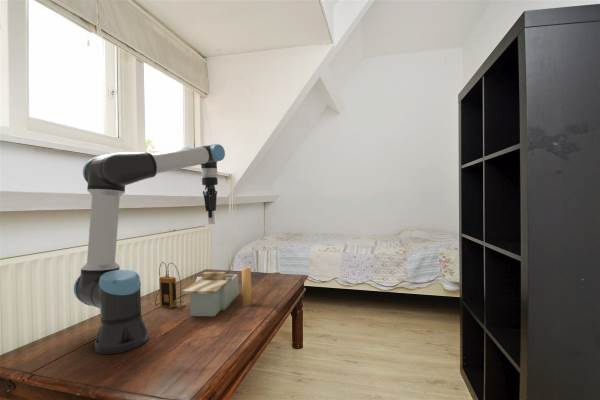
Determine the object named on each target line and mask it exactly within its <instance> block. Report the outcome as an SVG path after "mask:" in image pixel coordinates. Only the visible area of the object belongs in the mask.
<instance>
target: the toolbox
mask: <svg viewBox="0 0 600 400" xmlns="http://www.w3.org/2000/svg"><path fill="white" fill-rule="evenodd" d="M226 278H232V280H231V281H230V282H228V283H227V284H226V285H225V286H224V287H223V288H222V289H221V290H219V291H218V292H217V293H216V294H189V306H190V310H189V311H190V317H216V315H218V313H219V312H220V311H224V310H227V309H228V307H229V306H231V304H232V303H233V301H235V299H236V298H237V297H238V296H239V274H238V273H237V274H236V273H235V274H234V273H233V274H231V273H230V274H229V273H228V274H227V273H226Z"/></svg>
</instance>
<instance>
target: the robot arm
mask: <svg viewBox="0 0 600 400" xmlns="http://www.w3.org/2000/svg"><path fill="white" fill-rule="evenodd" d="M225 156H226V151H225V148H224V146H222V144H220V143H219V144H218V143H213V144H210V145H202V146H196V147H190V146H189V147H188V146H187V147H186V146H185V147H182V148H180V149H175V150H169V151H160V152H154V153H153V152H150V151H141V152H140V151H139V152H137V151H136V152H135V151H133V152H113V153H109V154H100V155H97V156H94V157H92V158H90V159H89V160H88V161H87V162H86V163H85V164H84V166H83V169H82V176H83V178H84V180H85V181H86V183H87V192H88V193H89V194H90V195H91V203H90V204H91V205H90V217H89V230H88V245H87V258H86V263H85V264H84V265H83V266H82V267H81V268H80V275H79V276H78V277H77V278H76V280H75V282H74V285H73V293H74V296H75V298H76V299H77V300H78V301H79V302H81V303H82V304H84V305H86V306H91V307H94V308H97V309H100V327H99V329H98V332H97V334H96V339H95V340H94V341H95V343H94V346H95V347H94V350H95V352H96V353H98V354H100V355H101V354H102V355H113V354H121V353H124V352H128V351H132V350H133V349H136V348H138V347H139V346H142V345H144V343H146V341H147V340H148V338H149V337H148V334H149V333H148V329H147V327H146V324H145V321H144V319H143V317H142V300H141V298H142V297H141V296H142V295H141V287H142V286H141V285H142V283H141V279H140V278H141V277H140V275H139V273H138V272H137V271H134V270H130V269H125V270H124V269H120V268H121V267H120V265H119V264H118V263H117V261H116V256H117V254H116V253H117V241H118V240H117V239H118V225H119V213H120V200H121V199H120V198H121V196H123V195H124V194H125V193H126V186H127V185H128V186H129V185H131V184H134V183H137V182H140V181H144V180H147V179H151V178H155V177H156V176H157V174H161V173H165V172H171V171H175V170H181V169H185V168H190V167H193V166H200V167H201V170H200V172H201V177H202V178H201V185H202V186H204V190H203V191H202V195H203V200H204V206H205V212H207V219H208V220H207V223H208V225H215V223H216V221H215V211H217V196H218V191H217V190H216V186H217V185H218V183H219V181H218V162H220V161H223V160H224V159H225Z"/></svg>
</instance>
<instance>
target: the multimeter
mask: <svg viewBox="0 0 600 400" xmlns="http://www.w3.org/2000/svg"><path fill="white" fill-rule="evenodd" d="M162 264H164V265H165V276H164V275H163V276H161V274H160V273H161V272H160V269H161V267H162ZM170 264H172V265H173V266H174V267H175V269H176V271H177V273H178V278H179V285H180V287H179V288H180V290H179V291H180V293H179V295H180V296H179V301H178V300H177V283H176V282H177V281H176V280H177V278H176V277H175V276H169V275H170V274H169V272H170V271H169V270H168V266H169V265H170ZM158 276H159V279H158V280H159V289H158V292H157V295H156V297H155V300H154V305H155V306H156V305H160V307H162V308H169V309H173V308H175V307H177V303H180V304H179V305H180V307H181V308H184V307H186V306H187V304H186V301H188V300H187V299H186V300H182V299H181V298H182V297H181V296H182V295H181V291H182V283H181V276H180V272H179V270H178V268H177V266H176V265H175V264H174V263H173V262H169V263H168V264H166V263H165V262H164V261H162V262H161V263H160V265H159V269H158ZM158 295H159V303H156V302H157V298H158ZM182 302H183V304H184V305H182V304H181V303H182Z"/></svg>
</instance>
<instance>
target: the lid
mask: <svg viewBox="0 0 600 400" xmlns="http://www.w3.org/2000/svg"><path fill="white" fill-rule="evenodd" d="M226 274H227V272H226V271H204V272H202V273H201V275H202V276H201V278H199V279H197V280H196V281H194V282H193V283H192V284H189V286H187V287H186V288H184V289H181V294H182V295H183V294H184V295H185V294H187V295H188V294H189V295H190V294H216V293H217V292H218V291H219V290H221V289H222V288H223V287H224V286H225V285H226V284H227V283H228V282H230V281H231V280H232V278H226Z"/></svg>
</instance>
